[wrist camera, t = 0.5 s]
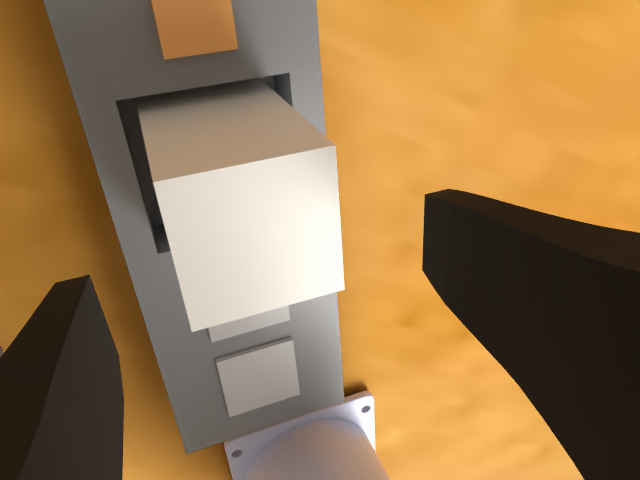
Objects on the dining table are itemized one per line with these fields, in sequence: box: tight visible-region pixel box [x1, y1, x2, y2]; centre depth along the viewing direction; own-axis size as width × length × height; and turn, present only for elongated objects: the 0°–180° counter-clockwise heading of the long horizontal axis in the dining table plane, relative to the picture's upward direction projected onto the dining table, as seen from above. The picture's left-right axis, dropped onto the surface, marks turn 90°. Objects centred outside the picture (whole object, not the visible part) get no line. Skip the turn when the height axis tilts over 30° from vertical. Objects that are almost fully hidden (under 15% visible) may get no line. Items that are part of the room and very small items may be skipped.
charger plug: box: [135, 78, 345, 332], centre depth 15 cm, size 4×4×7 cm
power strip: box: [43, 0, 344, 454], centre depth 19 cm, size 18×7×3 cm, turn 4°
